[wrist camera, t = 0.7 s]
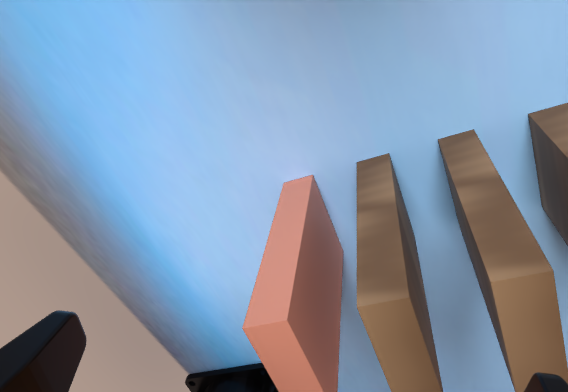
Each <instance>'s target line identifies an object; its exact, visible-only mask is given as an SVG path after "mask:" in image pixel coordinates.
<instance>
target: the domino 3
mask: <svg viewBox="0 0 568 392" xmlns="http://www.w3.org/2000/svg"><path fill="white" fill-rule="evenodd" d="M438 142H439V146H440V150H441V154H442V158H443V162H444V166H445V170H446V174H447V178H448V182H449V186H450V190H451V194H452V198H453V202H454V206H455V210H456V214H457V218H458V222H459V226H460V229H461V232H462V235H463V238H464V241H465V244H466V247H467V250H468V253H469V256H470V259H471V261H472V264H473V267H474V270H475V273H476V276H477V279H478V282H479V285H480V288H481V291H482V294H483V297H484V300H485V303H486V306H487V309H488V312H489V315H490V318H491V321H492V324H493V327H494V330H495V333H496V336H497V339H498V342H499V345H500V348H501V351H502V354H503V357H504V360H505V363H506V366H507V369H508V371H509V374H510V377H511V380H512V383H513V386H514V389H515V392H524V390H525V388H526V387H527V385H528V383H529V381H530V379H531V377H532V376H533V374H535V373H537V372H541V373H549V374H556V375H558V376H560V377H562V378H563V379H564V380H565V381H566V382H567V384H568V367H567V360H566V354H565V347H564V340H563V333H562V326H561V320H560V313H559V306H558V299H557V293H556V286H555V279H554V272H553V269H552V267H551V266H550V264H549V262H548V260H547V259H546V257H545V255H544V253H543V252H542V250H541V248H540V246H539V244H538V243H537V241H536V239H535V237H534V236H533V234H532V232H531V230H530V228H529V227H528V225H527V223H526V221H525V220H524V218H523V216H522V214H521V212H520V211H519V209H518V207H517V205H516V204H515V202H514V200H513V198H512V197H511V195H510V193H509V191H508V189H507V188H506V186H505V184H504V182H503V181H502V179H501V177H500V175H499V173H498V172H497V170H496V168H495V166H494V165H493V163H492V161H491V159H490V157H489V156H488V154H487V152H486V150H485V149H484V147H483V145H482V143H481V141H480V140H479V138H478V136H477V134H476V133H475V131H474V129H473V130H470V131H466V132H463V133H459V134H455V135H452V136H448V137H445V138H441V139H438Z"/></svg>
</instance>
